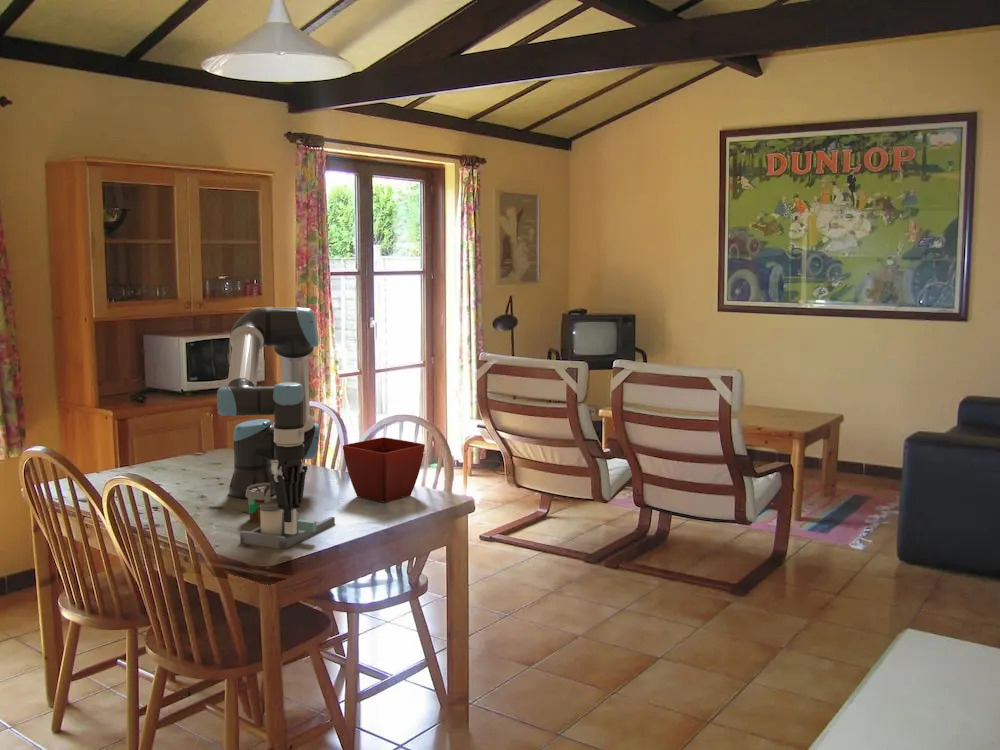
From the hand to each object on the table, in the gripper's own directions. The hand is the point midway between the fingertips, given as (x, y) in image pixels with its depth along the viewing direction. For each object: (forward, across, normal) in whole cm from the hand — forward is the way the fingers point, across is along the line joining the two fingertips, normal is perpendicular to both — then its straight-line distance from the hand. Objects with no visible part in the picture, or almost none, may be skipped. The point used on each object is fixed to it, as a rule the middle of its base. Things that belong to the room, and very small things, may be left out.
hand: (290, 533), depth 244 cm
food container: (+5, +20, +25) cm, 33 cm away
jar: (+4, +4, +9) cm, 11 cm away
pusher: (+4, +9, +6) cm, 11 cm away
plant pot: (+5, +60, +6) cm, 61 cm away
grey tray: (+5, +12, +9) cm, 16 cm away
